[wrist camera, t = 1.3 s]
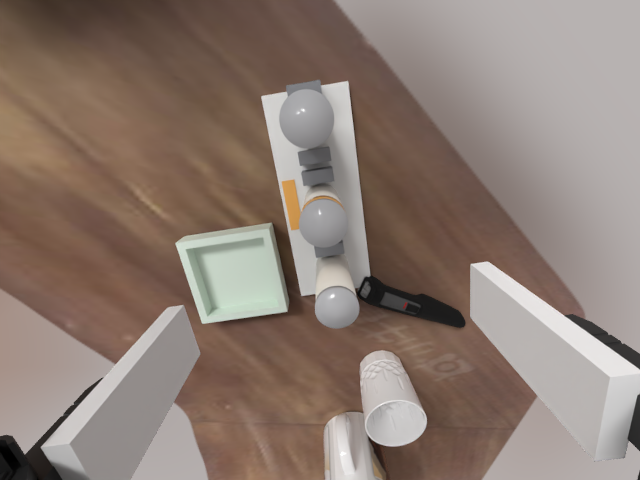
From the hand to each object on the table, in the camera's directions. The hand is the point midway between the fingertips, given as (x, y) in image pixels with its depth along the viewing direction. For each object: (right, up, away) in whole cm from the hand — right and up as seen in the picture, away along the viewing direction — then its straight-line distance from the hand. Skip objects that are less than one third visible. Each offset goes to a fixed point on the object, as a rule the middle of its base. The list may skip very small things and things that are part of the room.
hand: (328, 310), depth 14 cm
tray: (-12, -1, +28) cm, 30 cm away
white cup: (+9, -17, +34) cm, 39 cm away
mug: (+5, -29, +38) cm, 48 cm away
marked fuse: (0, +8, +24) cm, 26 cm away
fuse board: (0, +8, +25) cm, 26 cm away
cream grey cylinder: (-1, +17, +21) cm, 27 cm away
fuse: (+1, 0, +27) cm, 27 cm away
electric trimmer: (+12, -5, +29) cm, 32 cm away
